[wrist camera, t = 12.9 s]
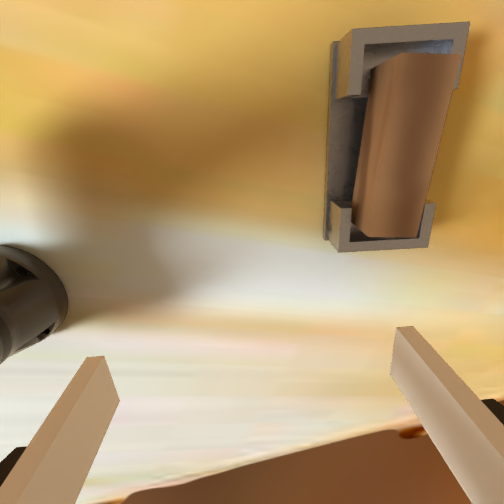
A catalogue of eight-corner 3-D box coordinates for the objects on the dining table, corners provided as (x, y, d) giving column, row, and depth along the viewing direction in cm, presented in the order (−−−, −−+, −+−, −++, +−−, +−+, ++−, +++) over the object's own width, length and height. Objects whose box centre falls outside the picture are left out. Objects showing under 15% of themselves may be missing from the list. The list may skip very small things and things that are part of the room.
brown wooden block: (349, 220, 35) (368, 237, 30) (372, 67, 29) (401, 52, 24) (389, 221, 36) (416, 237, 30) (421, 69, 30) (461, 54, 24)
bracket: (323, 237, 39) (335, 255, 34) (330, 44, 31) (349, 24, 26) (404, 233, 39) (430, 249, 34) (433, 37, 31) (474, 17, 25)
